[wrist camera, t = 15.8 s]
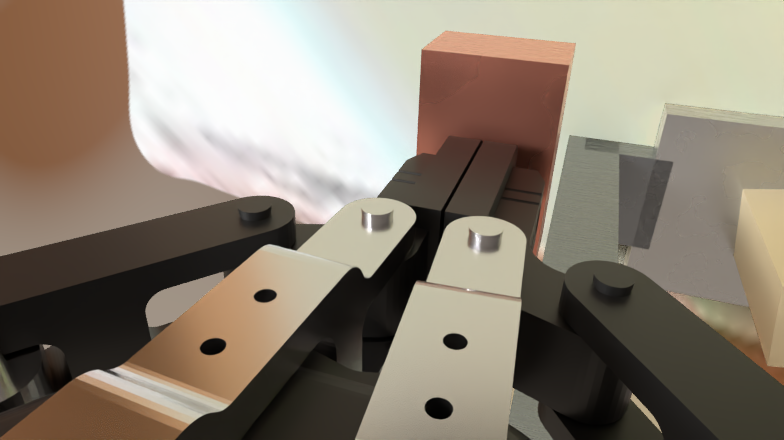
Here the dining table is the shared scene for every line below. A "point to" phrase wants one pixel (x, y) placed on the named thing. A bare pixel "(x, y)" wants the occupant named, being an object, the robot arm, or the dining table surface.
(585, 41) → the dining table surface
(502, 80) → the salmon red rectangular bar
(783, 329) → the beige tall block
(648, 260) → the press frame
